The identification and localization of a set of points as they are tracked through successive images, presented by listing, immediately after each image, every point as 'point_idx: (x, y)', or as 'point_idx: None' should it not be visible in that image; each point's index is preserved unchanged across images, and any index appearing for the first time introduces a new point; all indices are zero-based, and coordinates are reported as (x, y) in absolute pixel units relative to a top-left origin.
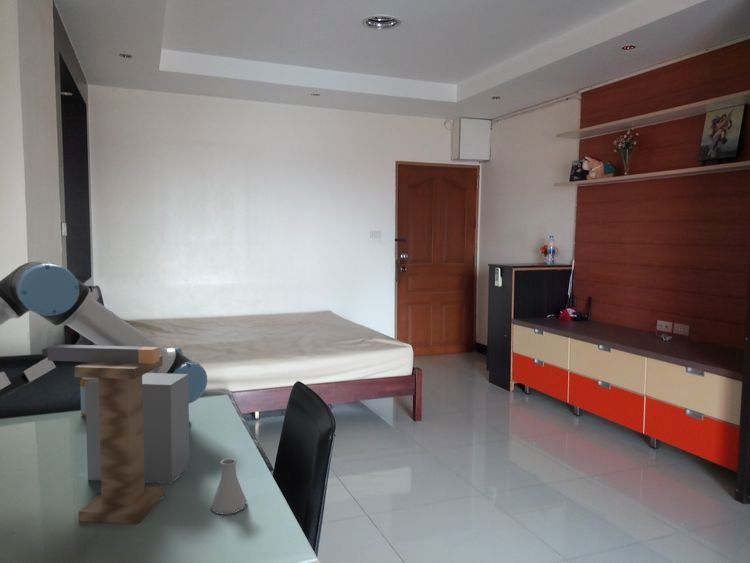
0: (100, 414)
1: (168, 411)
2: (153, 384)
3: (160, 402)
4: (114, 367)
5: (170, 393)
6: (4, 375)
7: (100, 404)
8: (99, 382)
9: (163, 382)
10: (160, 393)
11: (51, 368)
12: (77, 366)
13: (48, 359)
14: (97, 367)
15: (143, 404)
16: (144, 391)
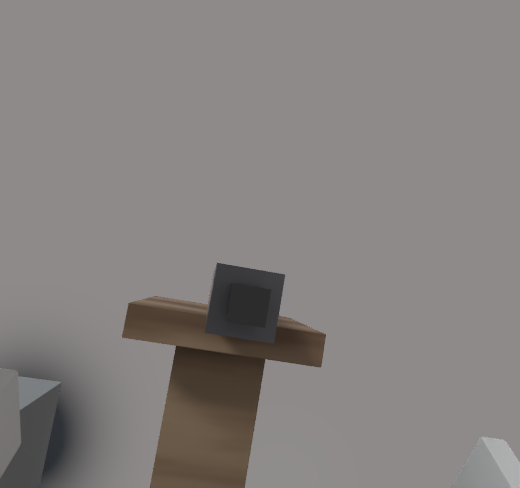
0: (245, 477)
1: (41, 463)
2: (41, 395)
3: (38, 446)
4: (292, 321)
5: (55, 407)
6: (481, 457)
7: (249, 445)
8: (261, 377)
9: (24, 386)
10: (45, 417)
11: (9, 456)
12: (316, 332)
13: (274, 337)
14: (306, 326)
15: (10, 479)
16: (22, 430)
